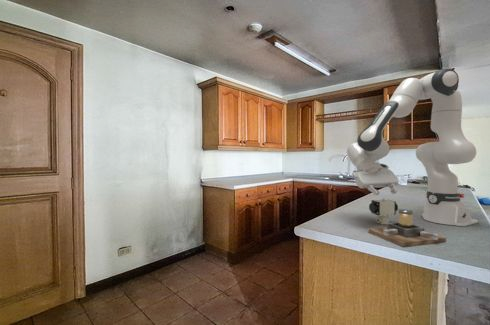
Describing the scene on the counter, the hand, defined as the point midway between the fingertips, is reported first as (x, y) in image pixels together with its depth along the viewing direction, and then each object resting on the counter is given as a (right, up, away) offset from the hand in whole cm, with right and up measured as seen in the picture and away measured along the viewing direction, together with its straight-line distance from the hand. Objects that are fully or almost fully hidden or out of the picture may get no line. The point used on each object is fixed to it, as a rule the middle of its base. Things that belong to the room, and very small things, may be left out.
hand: (386, 193), depth 101 cm
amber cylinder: (+2, -14, -10) cm, 17 cm away
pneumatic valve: (+3, -15, +8) cm, 18 cm away
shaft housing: (+2, -16, -9) cm, 18 cm away
